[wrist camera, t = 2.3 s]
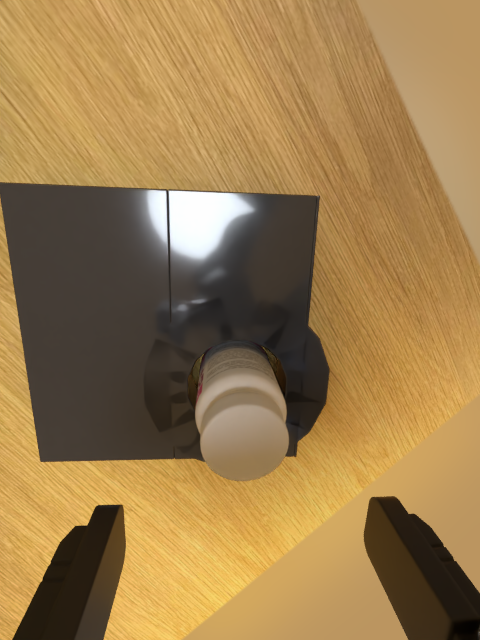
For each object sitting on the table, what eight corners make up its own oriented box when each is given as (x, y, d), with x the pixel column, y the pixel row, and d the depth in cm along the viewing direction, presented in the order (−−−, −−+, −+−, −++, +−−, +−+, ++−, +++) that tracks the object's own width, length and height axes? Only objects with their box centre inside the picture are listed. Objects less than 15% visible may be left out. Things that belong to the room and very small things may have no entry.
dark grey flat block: (330, 201, 20) (349, 197, 17) (307, 436, 24) (319, 464, 22) (30, 189, 19) (-3, 181, 16) (62, 440, 23) (41, 470, 20)
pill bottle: (188, 350, 22) (173, 420, 14) (254, 323, 22) (277, 379, 14) (216, 408, 23) (216, 503, 15) (278, 383, 23) (312, 466, 15)
